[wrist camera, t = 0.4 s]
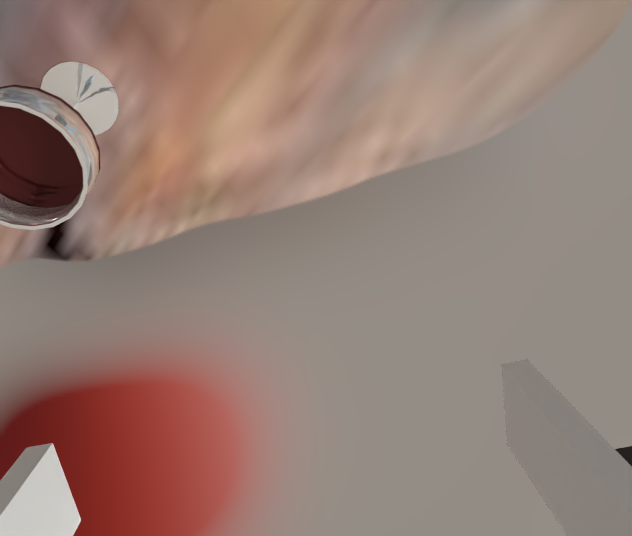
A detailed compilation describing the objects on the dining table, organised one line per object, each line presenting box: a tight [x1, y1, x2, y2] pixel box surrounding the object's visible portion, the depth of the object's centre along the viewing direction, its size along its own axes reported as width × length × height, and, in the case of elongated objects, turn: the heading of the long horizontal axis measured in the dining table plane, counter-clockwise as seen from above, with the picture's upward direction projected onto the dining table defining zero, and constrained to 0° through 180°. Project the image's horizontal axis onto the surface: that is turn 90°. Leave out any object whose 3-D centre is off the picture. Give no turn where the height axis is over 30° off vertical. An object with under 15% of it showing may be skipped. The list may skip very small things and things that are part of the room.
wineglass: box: [0, 61, 119, 230], centre depth 30 cm, size 7×7×12 cm
